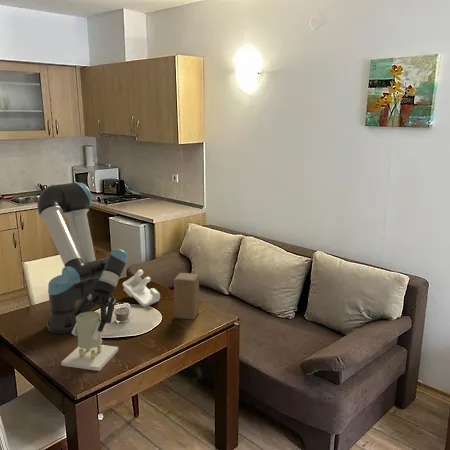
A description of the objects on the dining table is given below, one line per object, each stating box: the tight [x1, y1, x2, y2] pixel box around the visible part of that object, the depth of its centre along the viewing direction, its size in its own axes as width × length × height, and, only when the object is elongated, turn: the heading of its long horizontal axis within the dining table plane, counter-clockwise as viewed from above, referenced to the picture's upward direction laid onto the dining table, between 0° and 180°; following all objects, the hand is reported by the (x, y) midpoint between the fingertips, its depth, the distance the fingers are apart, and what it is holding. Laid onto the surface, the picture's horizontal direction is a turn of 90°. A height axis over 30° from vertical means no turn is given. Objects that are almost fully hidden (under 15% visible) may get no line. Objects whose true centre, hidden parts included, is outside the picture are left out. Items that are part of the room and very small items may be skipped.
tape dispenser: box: [122, 269, 161, 308], centre depth 239 cm, size 20×11×13 cm, turn 53°
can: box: [76, 311, 103, 349], centre depth 180 cm, size 9×9×12 cm
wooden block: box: [173, 272, 200, 320], centre depth 220 cm, size 10×10×20 cm
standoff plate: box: [60, 344, 119, 372], centre depth 183 cm, size 16×16×4 cm
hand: (84, 336), depth 178 cm, fingers closed on can, 9 cm apart
